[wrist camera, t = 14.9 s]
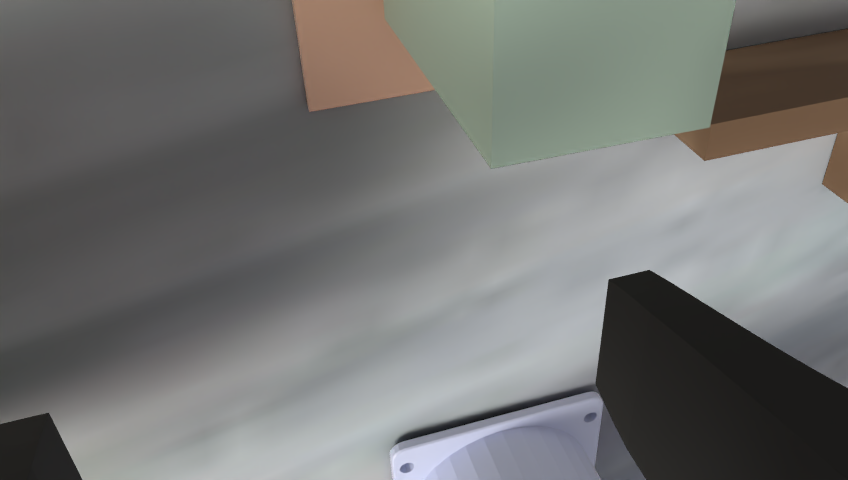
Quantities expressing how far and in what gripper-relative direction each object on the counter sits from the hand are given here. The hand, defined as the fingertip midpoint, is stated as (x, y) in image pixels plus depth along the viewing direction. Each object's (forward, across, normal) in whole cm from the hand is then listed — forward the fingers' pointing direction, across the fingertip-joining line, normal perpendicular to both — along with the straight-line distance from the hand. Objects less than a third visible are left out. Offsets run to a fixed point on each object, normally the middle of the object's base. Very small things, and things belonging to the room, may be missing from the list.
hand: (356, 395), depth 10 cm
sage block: (+10, -5, -3) cm, 12 cm away
